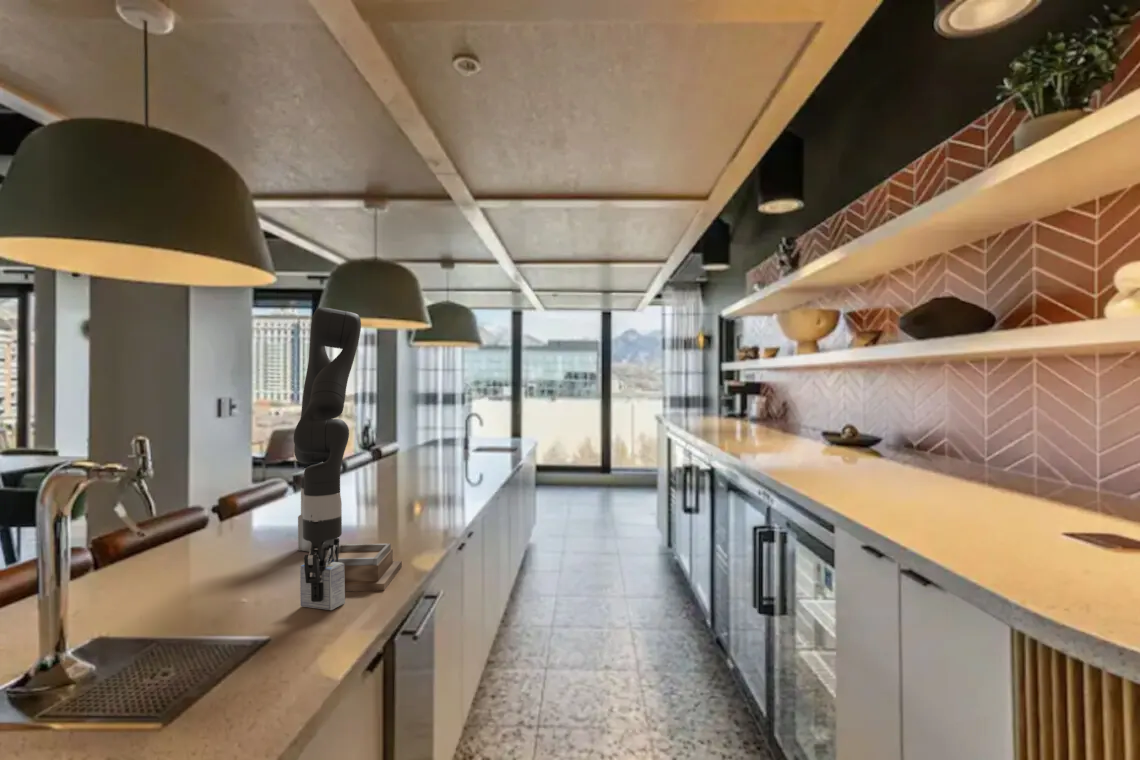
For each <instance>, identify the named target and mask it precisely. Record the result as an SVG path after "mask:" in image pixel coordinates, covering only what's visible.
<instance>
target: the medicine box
mask: <svg viewBox="0 0 1140 760" xmlns="http://www.w3.org/2000/svg"><path fill="white" fill-rule="evenodd" d="M322 566H323V565H319V567H322ZM299 569H300V570H299V572H300V574H299V576H300V577H299V578H300V581H299V582H300V588H299V589H300V596H299V597H300V607H303V608H304V607H305V608H311V609H312V608H313V609H319V610H326V611H333V610H335V609H337V608H338V607H341V606H343V605H344V604H345V603H346V591H345V573H344V563H340V562H331V561H329V562H328V567H327V568H326V570H325V571H324V580H323V600H322V601H321V602H312V601H311V584H310V583H306V579H305V566H304V563H303V564H301V565H300V568H299ZM314 577H315V574H314Z"/></svg>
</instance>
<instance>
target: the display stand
mask: <svg viewBox="0 0 1140 760" xmlns="http://www.w3.org/2000/svg"><path fill="white" fill-rule="evenodd" d="M391 545H392V544H391V543H362V544H361V543H358V544H356V543H354V544H347V543H346V544H339V556H338V562H340V563H344V573H345V592H362V591H363V592H367V591H368V592H371V591H372V592H373V591H385V590H386V589H387V588H388V586H389V585H390V583H392V580H393V579H394V578H395V577H396V575H397V574H398V572H399V571H400V570H401V568H402V567H403V565H402V560H393V559H394V557H393V556H394V555H393V548H391V547H392V546H391Z"/></svg>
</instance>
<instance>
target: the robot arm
mask: <svg viewBox="0 0 1140 760" xmlns="http://www.w3.org/2000/svg"><path fill="white" fill-rule="evenodd" d="M361 329H362V321H361V317H360V315H359V314H357V313H355V312H351V311H345V310H340V309H334V308H332V307H331V308H330V307H318V308H317V309H316V310H314V313H313V315H312V318H311V324H310V336H309V350H308V351H309V352H308V362H307V369H306V374H305V379H304V385H303V392H302V402H301V412H300V413H301V414H300V418H299V421H298V423H296V424H297V425H296V426H295V429H294V432H293V443H294V449H293V450H294V451H293V452H294V456H295V457H294V458H295V459H296V460H297V462H298V463H300V464H311V465H308V466H307V467H305V468H304V472H303V477H301V478H300V514H299V515H298V516H297V550H298V551H303V552H308V553H309V554H305V555H304V556H303V564H304V566H305V579H306V583H310V584H311V601H312V602H321V601H322V600H323V580H324V571H325V570H326V568H327V567H328V562H329V561H331V562H338V556H339V545H340V537H341V536H342V534H343V533H342V532H343V531H342V530H343V529H342V527H343V526H342V525H343V523H342V522H343V521H342V520H343V519H342V518H343V517H342V512H343V509H342V498H341V497H342V496H341V471H342V462H343V458H344V455H345V451H346V448H347V445H348V442H349V438H350V429H349V426H348V425H347V422H345V421H344V420H343V419H340V418H338V417H340V416H341V415H342V414H343V412H344V408H345V401H346V392H347V388H348V380H349V377H350V373H351V370H352V367H353V364H354V362H355V357H356V352H357V348H358V345H359V341H360V336H361ZM327 347H328V348H333V349H340V350H341V351H340V353H339V354H338V355H337V356H336V357H335V358H334V359H333V360H330V358H329V356H328V353H327V351H326V348H327ZM319 565H323V566H322V567H319ZM314 574H315V577H314Z"/></svg>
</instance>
